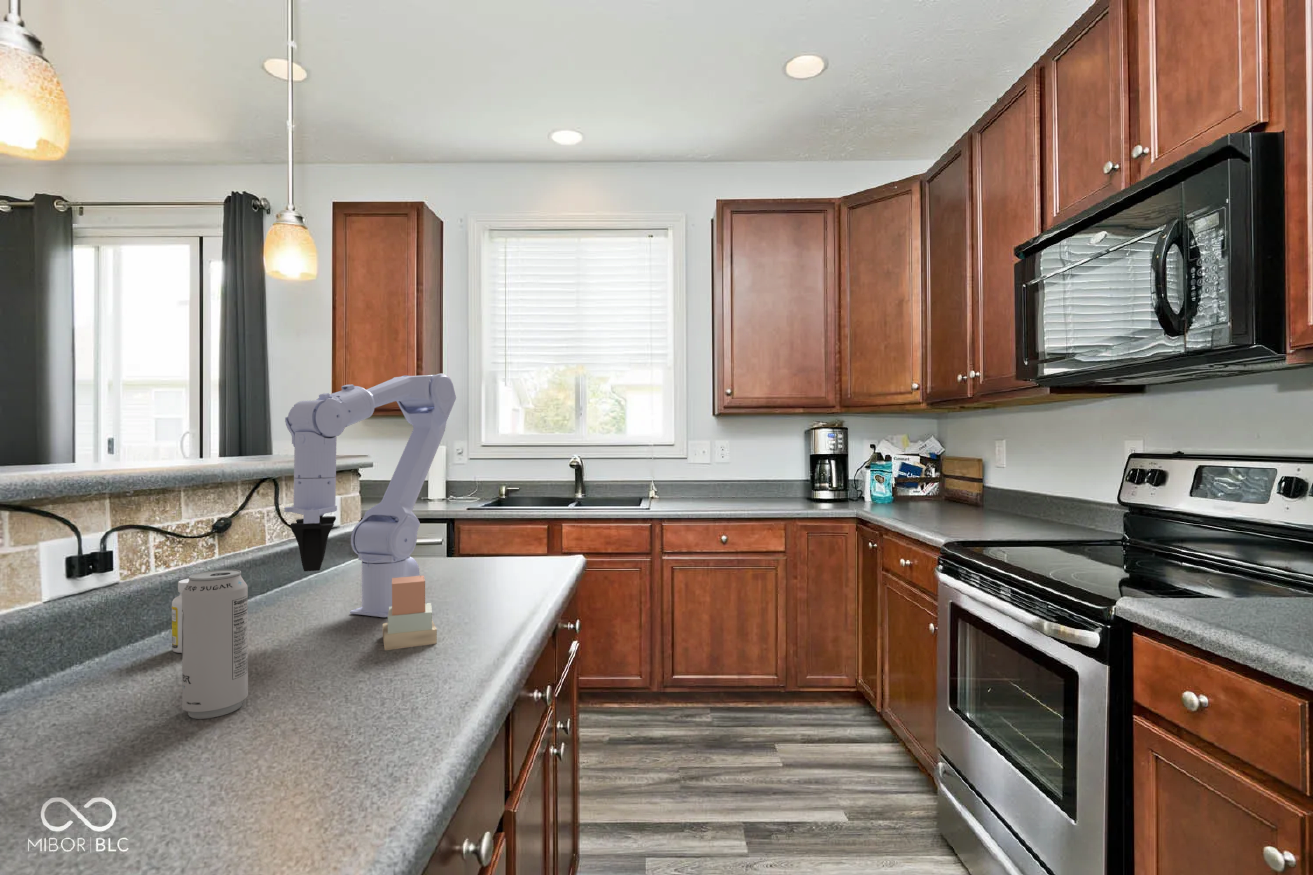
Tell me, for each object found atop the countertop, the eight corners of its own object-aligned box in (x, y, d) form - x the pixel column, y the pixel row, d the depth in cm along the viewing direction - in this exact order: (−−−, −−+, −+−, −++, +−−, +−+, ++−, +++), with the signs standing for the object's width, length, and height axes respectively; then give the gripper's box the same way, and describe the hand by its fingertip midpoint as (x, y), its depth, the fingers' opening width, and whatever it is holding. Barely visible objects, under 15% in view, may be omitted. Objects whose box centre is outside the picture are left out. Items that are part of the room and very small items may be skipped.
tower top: (389, 623, 98) (389, 606, 98) (431, 619, 100) (431, 602, 100) (387, 634, 92) (387, 616, 92) (432, 629, 94) (432, 612, 94)
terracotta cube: (392, 607, 97) (392, 577, 97) (424, 604, 99) (423, 575, 99) (392, 615, 93) (391, 583, 93) (425, 611, 95) (425, 581, 95)
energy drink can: (192, 702, 73) (191, 570, 73) (253, 695, 75) (253, 566, 76) (173, 724, 68) (173, 581, 68) (240, 715, 70) (240, 576, 70)
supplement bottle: (227, 642, 95) (226, 576, 96) (197, 654, 90) (197, 584, 90) (193, 641, 96) (192, 575, 96) (161, 653, 91) (161, 583, 91)
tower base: (382, 639, 98) (382, 623, 98) (431, 633, 101) (431, 617, 101) (384, 653, 91) (384, 635, 91) (436, 646, 94) (436, 629, 94)
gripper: (290, 476, 104) (288, 561, 104) (280, 479, 91) (278, 576, 91) (338, 476, 107) (337, 558, 107) (335, 479, 94) (334, 572, 94)
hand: (313, 566), depth 99 cm, fingers open, 7 cm apart
